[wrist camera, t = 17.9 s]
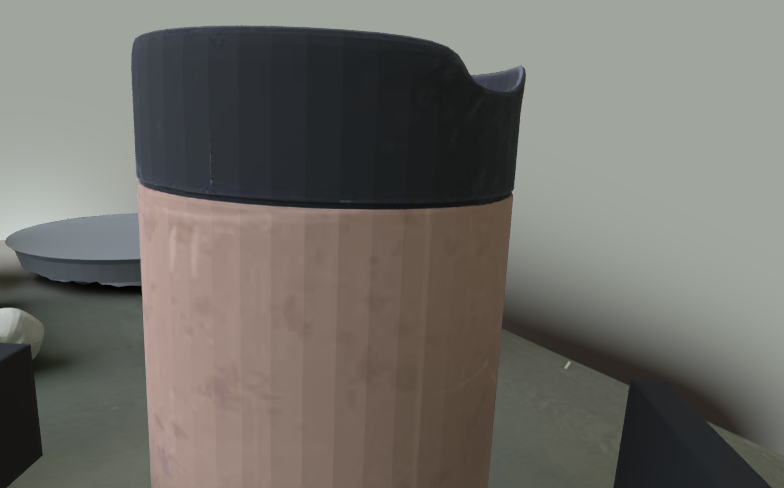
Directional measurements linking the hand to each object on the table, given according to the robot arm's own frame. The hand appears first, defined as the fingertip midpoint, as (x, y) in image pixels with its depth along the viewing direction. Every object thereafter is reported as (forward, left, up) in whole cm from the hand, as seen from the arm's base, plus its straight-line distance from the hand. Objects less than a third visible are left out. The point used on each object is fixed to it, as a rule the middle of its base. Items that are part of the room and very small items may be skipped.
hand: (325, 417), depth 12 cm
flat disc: (+59, -21, -13) cm, 65 cm away
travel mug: (0, 0, -13) cm, 13 cm away
